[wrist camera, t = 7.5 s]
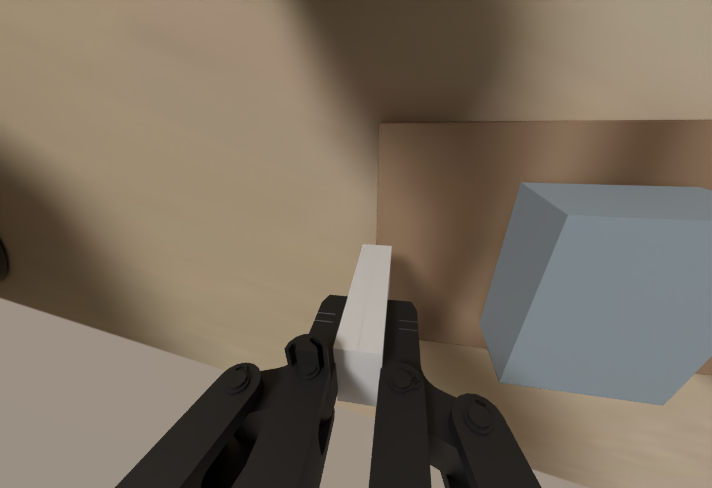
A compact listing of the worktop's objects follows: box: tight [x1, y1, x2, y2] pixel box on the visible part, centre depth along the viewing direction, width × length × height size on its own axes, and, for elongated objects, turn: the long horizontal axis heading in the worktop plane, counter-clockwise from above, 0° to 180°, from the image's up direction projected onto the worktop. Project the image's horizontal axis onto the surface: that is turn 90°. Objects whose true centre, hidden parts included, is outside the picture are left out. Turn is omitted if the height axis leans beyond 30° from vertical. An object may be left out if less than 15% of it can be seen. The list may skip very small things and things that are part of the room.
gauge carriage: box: [479, 182, 712, 405], centre depth 12 cm, size 9×11×4 cm
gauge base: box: [376, 120, 712, 375], centre depth 12 cm, size 21×14×5 cm, turn 91°
